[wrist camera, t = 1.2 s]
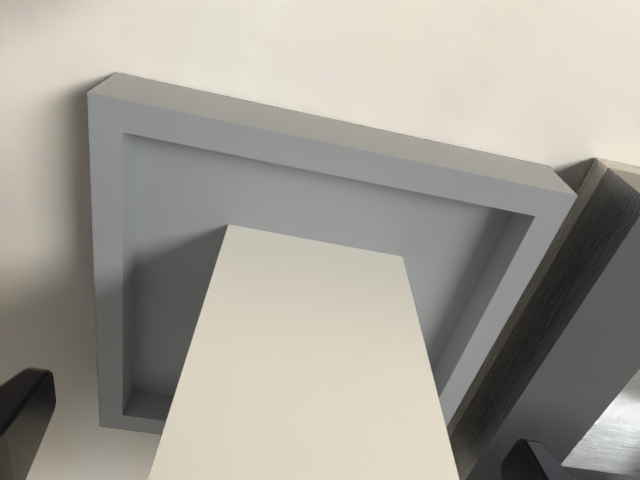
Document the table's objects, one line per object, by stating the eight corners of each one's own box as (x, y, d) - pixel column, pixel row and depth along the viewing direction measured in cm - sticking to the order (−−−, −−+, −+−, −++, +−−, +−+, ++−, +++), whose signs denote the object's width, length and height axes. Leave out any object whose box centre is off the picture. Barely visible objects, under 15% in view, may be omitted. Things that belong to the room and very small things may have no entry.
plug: (358, 376, 13) (389, 735, 7) (209, 352, 13) (112, 717, 7) (404, 256, 11) (501, 626, 5) (227, 222, 11) (110, 588, 5)
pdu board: (591, 582, 21) (615, 638, 19) (370, 557, 20) (375, 615, 18) (976, 242, 12) (1088, 294, 10) (596, 157, 10) (649, 201, 9)
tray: (414, 427, 15) (422, 469, 14) (117, 385, 14) (99, 426, 13) (548, 166, 11) (578, 195, 9) (116, 72, 9) (87, 92, 8)
